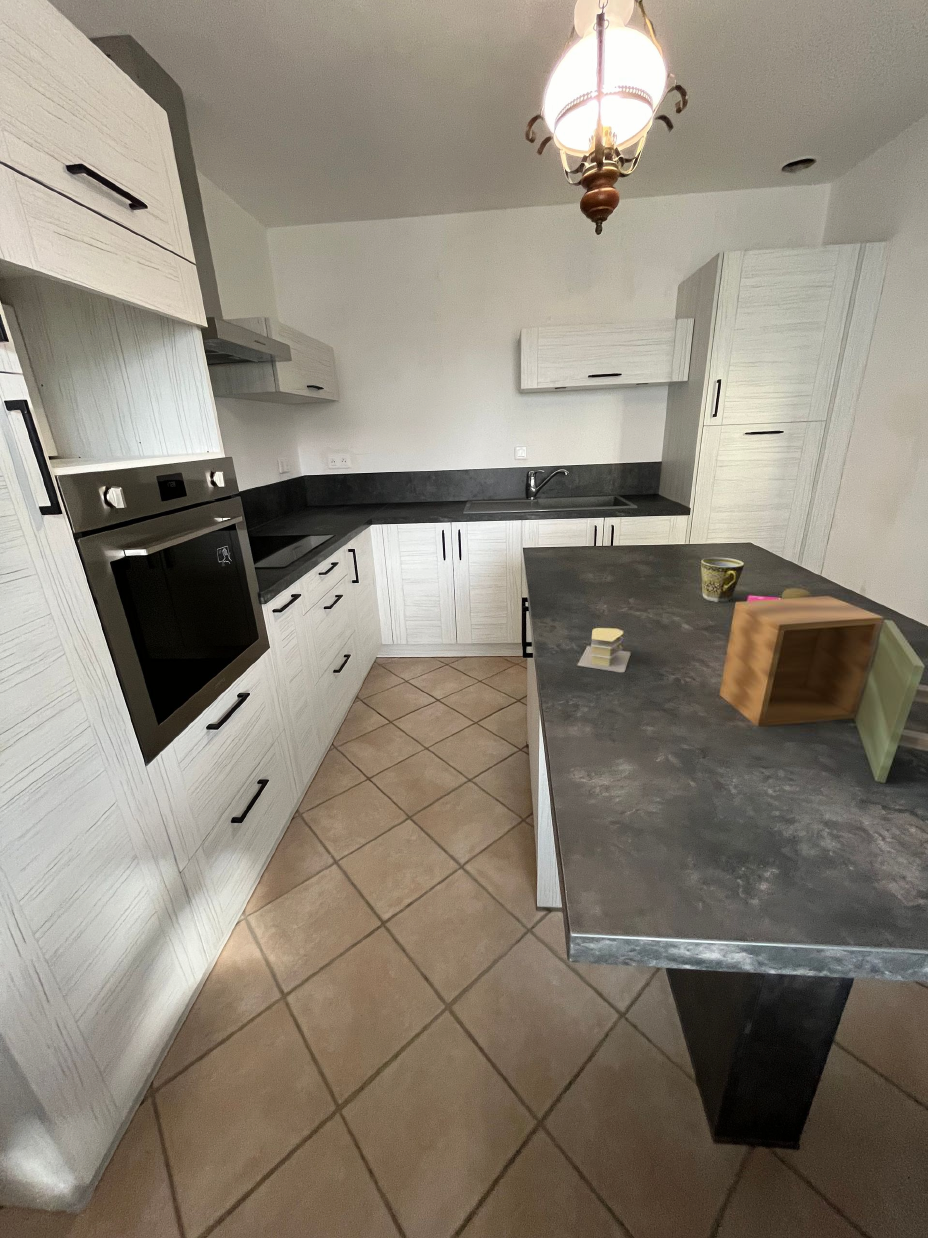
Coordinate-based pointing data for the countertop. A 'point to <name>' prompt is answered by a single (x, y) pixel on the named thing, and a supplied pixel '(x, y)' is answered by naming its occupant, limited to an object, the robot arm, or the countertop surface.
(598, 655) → the stacked layers on plate
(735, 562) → the ceramic cup
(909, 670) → the door
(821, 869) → the countertop surface
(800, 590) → the olive rounded oblong
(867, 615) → the cupboard
